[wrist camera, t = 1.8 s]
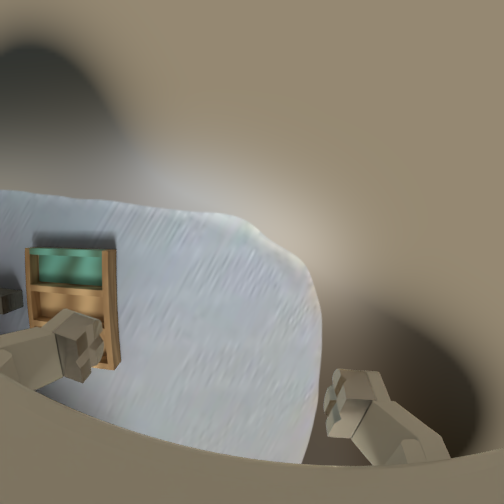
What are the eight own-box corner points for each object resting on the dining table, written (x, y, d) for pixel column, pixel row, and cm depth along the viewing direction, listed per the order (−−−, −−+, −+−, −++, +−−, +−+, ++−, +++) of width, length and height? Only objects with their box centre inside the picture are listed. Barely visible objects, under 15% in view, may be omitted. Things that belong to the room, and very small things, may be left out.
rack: (116, 249, 48) (107, 250, 44) (121, 361, 49) (114, 370, 45) (36, 247, 46) (25, 248, 42) (44, 350, 47) (34, 357, 43)
